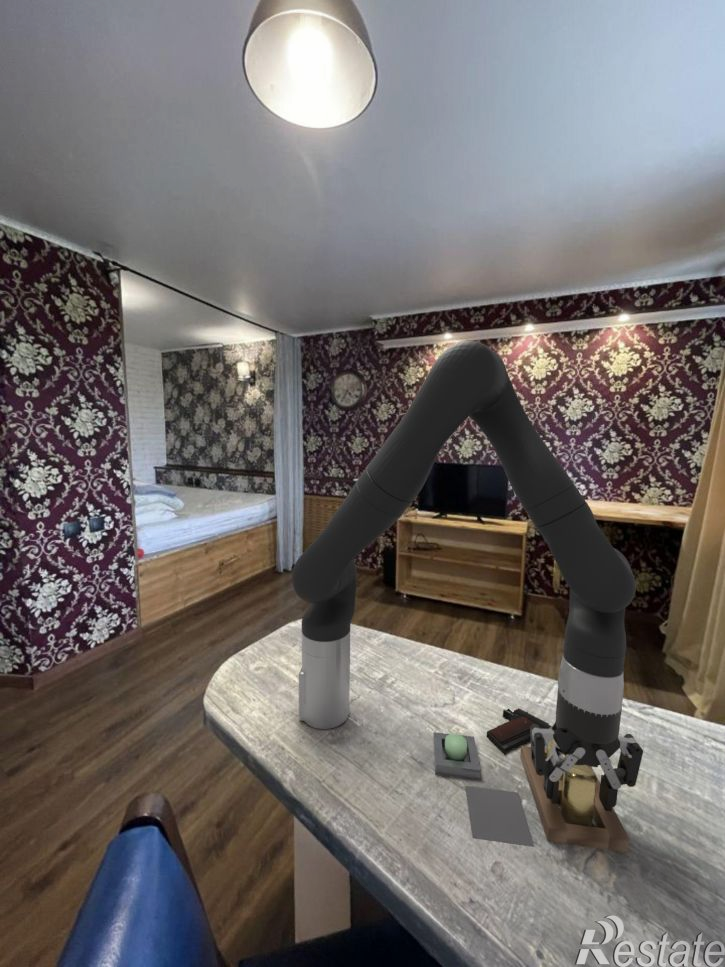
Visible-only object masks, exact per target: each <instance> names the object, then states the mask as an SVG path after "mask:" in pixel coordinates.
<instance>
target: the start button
mask: <svg viewBox="0 0 725 967" xmlns="http://www.w3.org/2000/svg"><path fill="white" fill-rule="evenodd" d="M448 734H449V735H447V736H446V738H445V754H446V756H447V757H448V758H449V759H451V760H454V761H463V760H464V759H465V758H466V756H467V741H466V739H465V738H464V737H462V736H461V734H459V733H448Z"/></svg>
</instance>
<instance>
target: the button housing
mask: <svg viewBox="0 0 725 967" xmlns="http://www.w3.org/2000/svg"><path fill="white" fill-rule="evenodd" d="M449 734H450V733H444V732H437V731H436V732H435V731H434V732H433V734H432V735H433V737H432V744H433V745H432V746H433V758H434V774H435V775H437V776H438V775H440V776H446V777H447V776H448V777H454V778H455V777H456V778H465V779H471V780H472V779H473V780H479V781H480V780H481V773H482V772H481V766H480V761H479V756H478V754H479V753H478V748H477V744H476V739H475V736H472V735H464V734H463V735H461V734H460V735H461V736H462V737H464V738H465V739H466V741H467V756H466V758H465V759H464V760H463V761H454V760H451V759H449V758H448V757H447V756H446V754H445V738H446V736H447V735H449Z"/></svg>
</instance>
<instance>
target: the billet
mask: <svg viewBox="0 0 725 967" xmlns="http://www.w3.org/2000/svg"><path fill="white" fill-rule="evenodd" d="M593 771H594V770H593ZM593 771H592V770H591V769H590V768H589V767H588V766H586V765H573V767H572V768H571V769H570V770H569V772H564V774H563V785H562V797H561V803H560V807H559V808H560V811H561V814H562V816H563V819H564V821H565V823H567V824H574V825H582V826H589V827H593V821H594V818H593V812H594V803H595V793H596V783H597V778H598V777H596V776H597V775H595V774H596V773H595V771H594V772H593Z"/></svg>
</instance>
